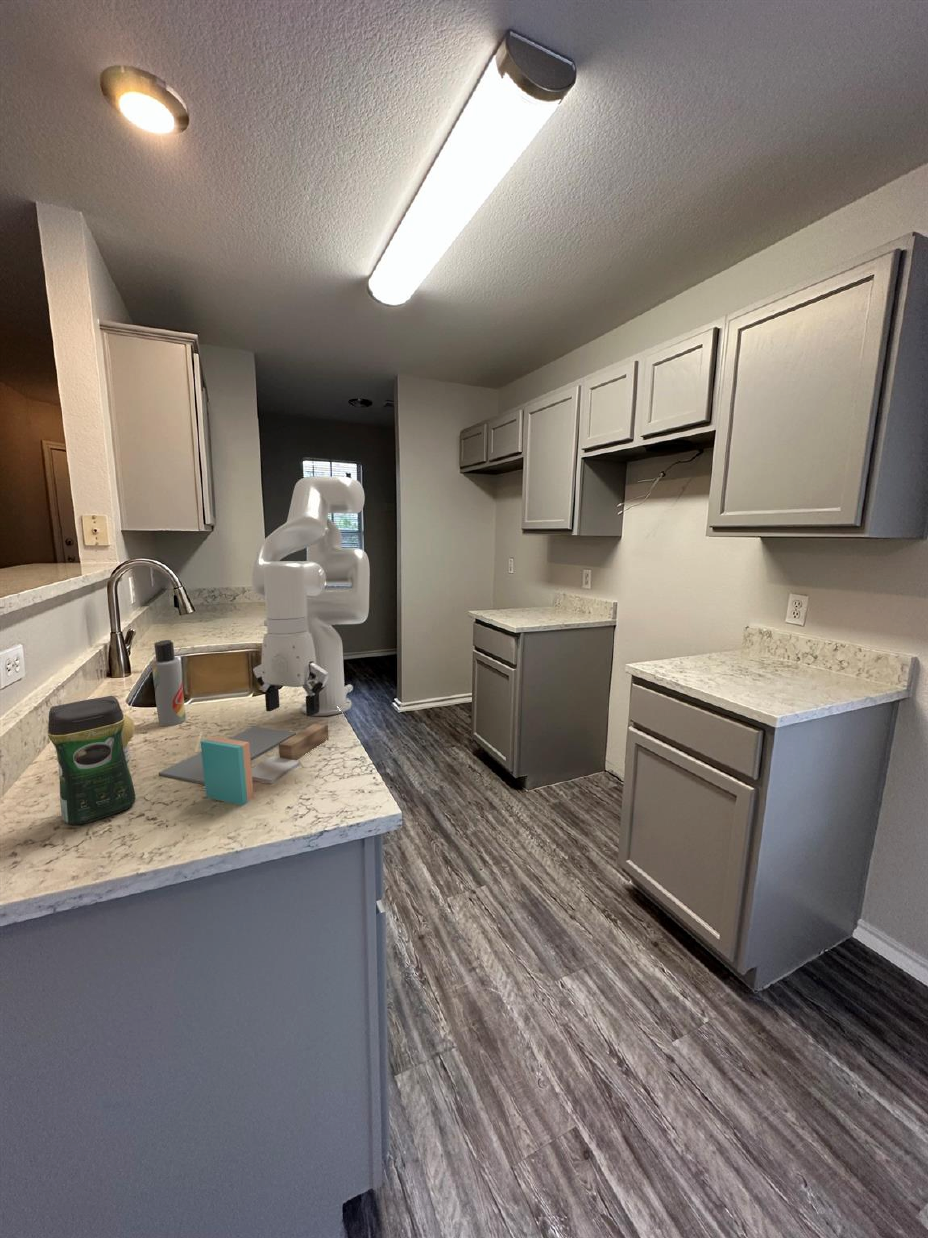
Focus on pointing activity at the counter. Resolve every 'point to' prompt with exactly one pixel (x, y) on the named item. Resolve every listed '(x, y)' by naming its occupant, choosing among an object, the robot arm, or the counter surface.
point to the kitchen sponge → (227, 770)
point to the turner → (290, 754)
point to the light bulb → (127, 734)
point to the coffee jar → (91, 759)
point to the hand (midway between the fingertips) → (292, 711)
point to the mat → (256, 737)
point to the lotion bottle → (168, 685)
